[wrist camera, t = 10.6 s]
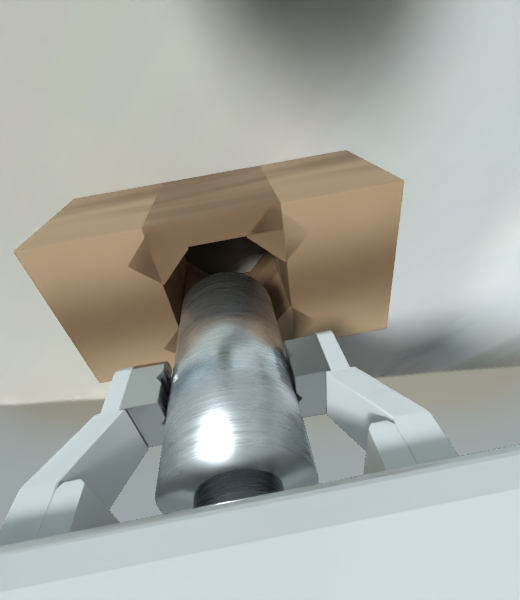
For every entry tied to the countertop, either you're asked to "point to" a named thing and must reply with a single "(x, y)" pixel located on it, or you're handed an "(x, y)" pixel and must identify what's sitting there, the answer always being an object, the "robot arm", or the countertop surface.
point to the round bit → (230, 402)
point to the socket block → (211, 228)
